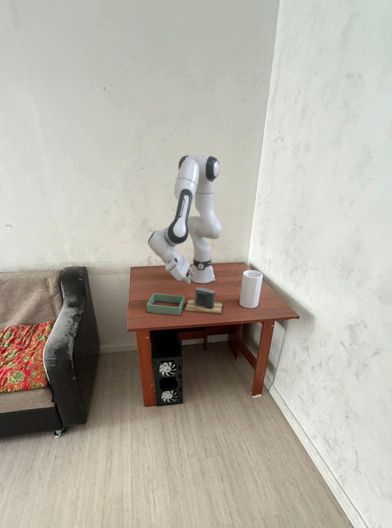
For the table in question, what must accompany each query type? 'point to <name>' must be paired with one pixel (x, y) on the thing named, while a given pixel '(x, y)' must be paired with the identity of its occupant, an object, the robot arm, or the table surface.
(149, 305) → the bin
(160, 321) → the table surface
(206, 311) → the board
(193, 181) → the robot arm
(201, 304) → the camera
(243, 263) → the table surface
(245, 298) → the cup
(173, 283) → the table surface
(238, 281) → the table surface
